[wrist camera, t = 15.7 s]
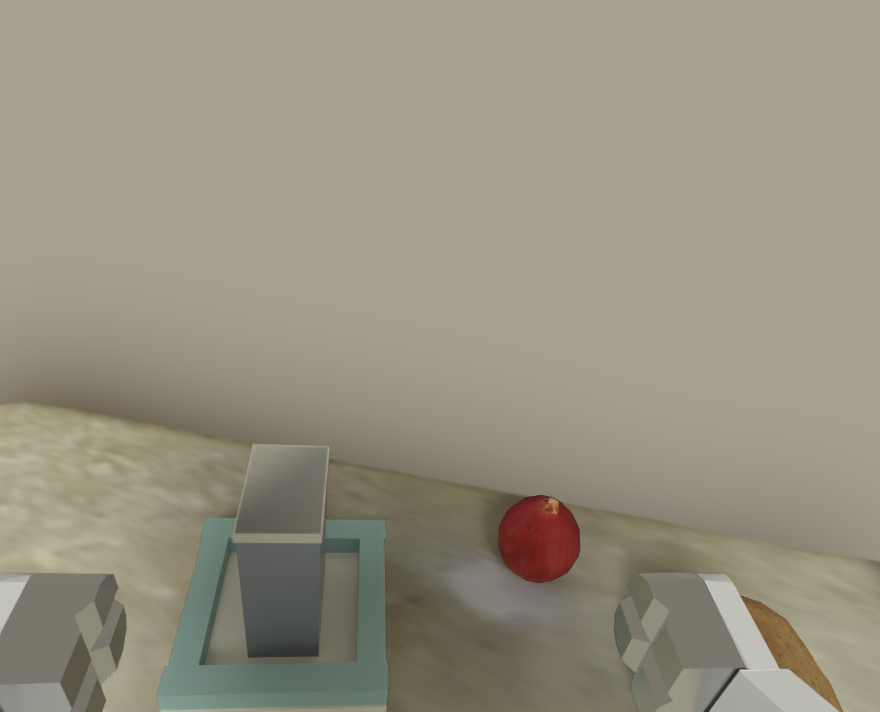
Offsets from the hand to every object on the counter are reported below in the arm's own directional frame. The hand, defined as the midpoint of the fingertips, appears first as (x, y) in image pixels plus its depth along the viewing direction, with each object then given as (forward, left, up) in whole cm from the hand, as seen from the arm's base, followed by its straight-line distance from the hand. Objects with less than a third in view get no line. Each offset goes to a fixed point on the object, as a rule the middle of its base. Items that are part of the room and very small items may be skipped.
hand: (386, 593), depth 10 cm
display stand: (+4, -17, -30) cm, 35 cm away
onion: (-13, -22, -30) cm, 40 cm away
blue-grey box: (+4, -17, -27) cm, 32 cm away
